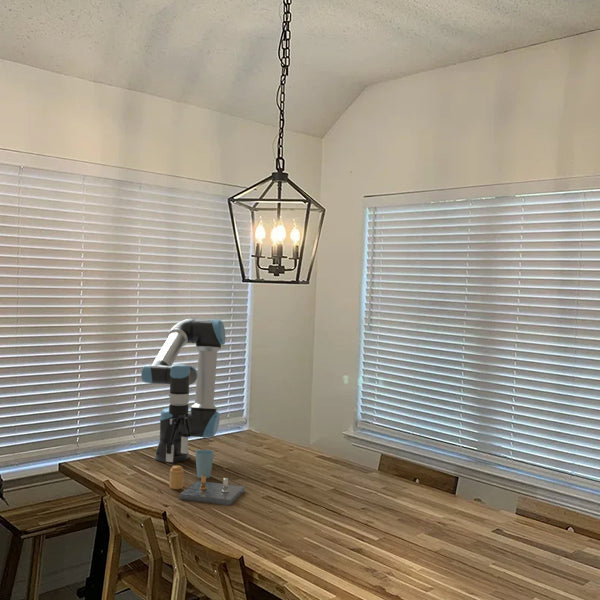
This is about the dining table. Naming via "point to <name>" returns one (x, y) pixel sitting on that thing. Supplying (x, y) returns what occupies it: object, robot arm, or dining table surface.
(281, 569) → the dining table surface
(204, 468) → the cup
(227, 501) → the junction plate
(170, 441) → the robot arm
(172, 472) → the wooden jar
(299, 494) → the dining table surface
